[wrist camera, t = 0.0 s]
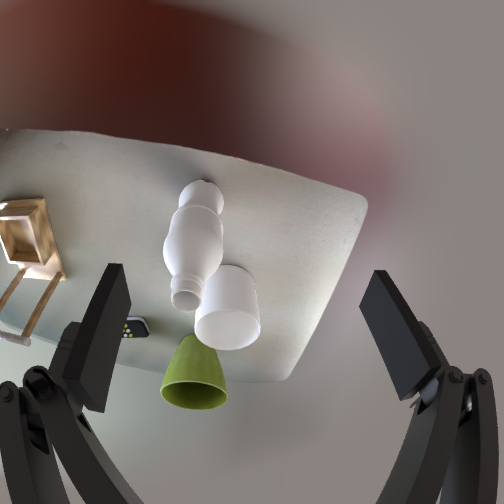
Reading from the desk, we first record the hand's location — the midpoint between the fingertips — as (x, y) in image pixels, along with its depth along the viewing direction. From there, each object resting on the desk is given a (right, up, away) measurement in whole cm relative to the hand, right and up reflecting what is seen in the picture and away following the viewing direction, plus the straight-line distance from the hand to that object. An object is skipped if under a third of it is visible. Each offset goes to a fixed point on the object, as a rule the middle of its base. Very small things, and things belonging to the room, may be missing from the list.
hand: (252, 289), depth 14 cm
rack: (-48, +4, +33) cm, 59 cm away
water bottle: (-8, +11, +33) cm, 36 cm away
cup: (-5, -5, +44) cm, 45 cm away
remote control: (-31, -16, +49) cm, 60 cm away
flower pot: (-14, -21, +54) cm, 60 cm away
